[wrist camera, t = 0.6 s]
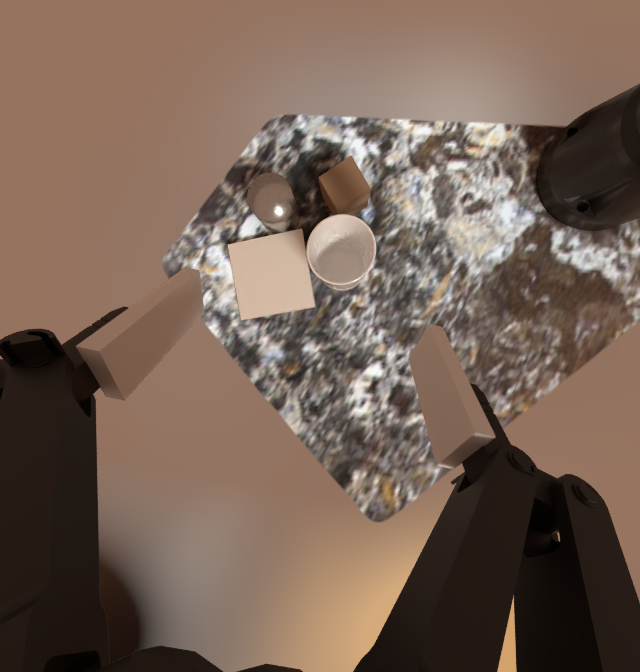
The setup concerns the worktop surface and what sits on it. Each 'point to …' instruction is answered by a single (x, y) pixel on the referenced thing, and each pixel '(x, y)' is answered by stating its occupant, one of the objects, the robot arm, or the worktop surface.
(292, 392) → the worktop surface
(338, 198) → the walnut block
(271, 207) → the grey tin
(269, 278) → the tile
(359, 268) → the white cup
